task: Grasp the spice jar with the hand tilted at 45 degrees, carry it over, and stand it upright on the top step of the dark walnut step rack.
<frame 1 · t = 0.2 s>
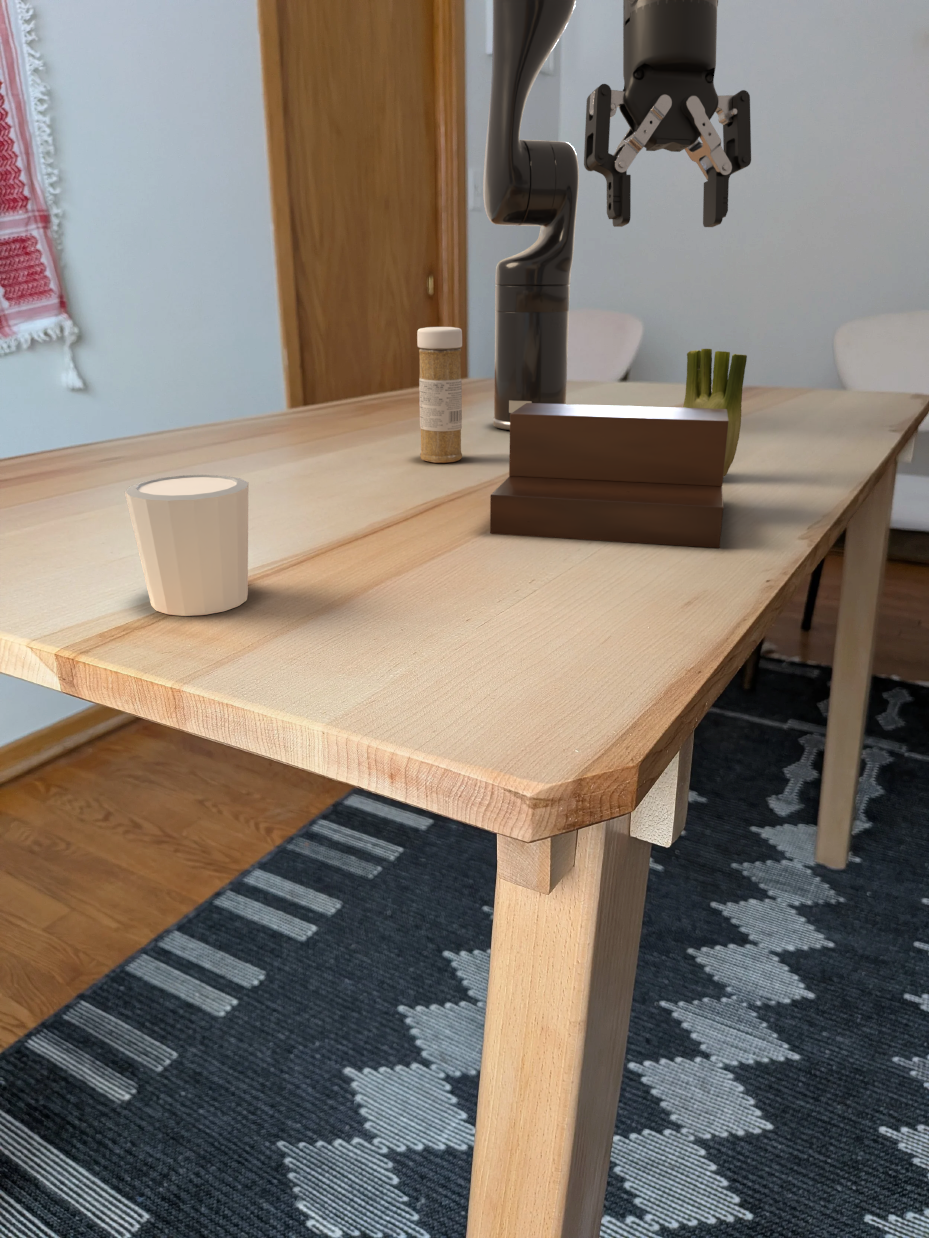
hand: (667, 225, 78), 22 cm above the table, tool pointing down, fingers open, 8 cm apart
spice jar: (441, 461, 97), on the table
step rack: (610, 518, 73), on the table
cream cup: (200, 602, 55), on the table
fennel bulb: (701, 479, 88), on the table
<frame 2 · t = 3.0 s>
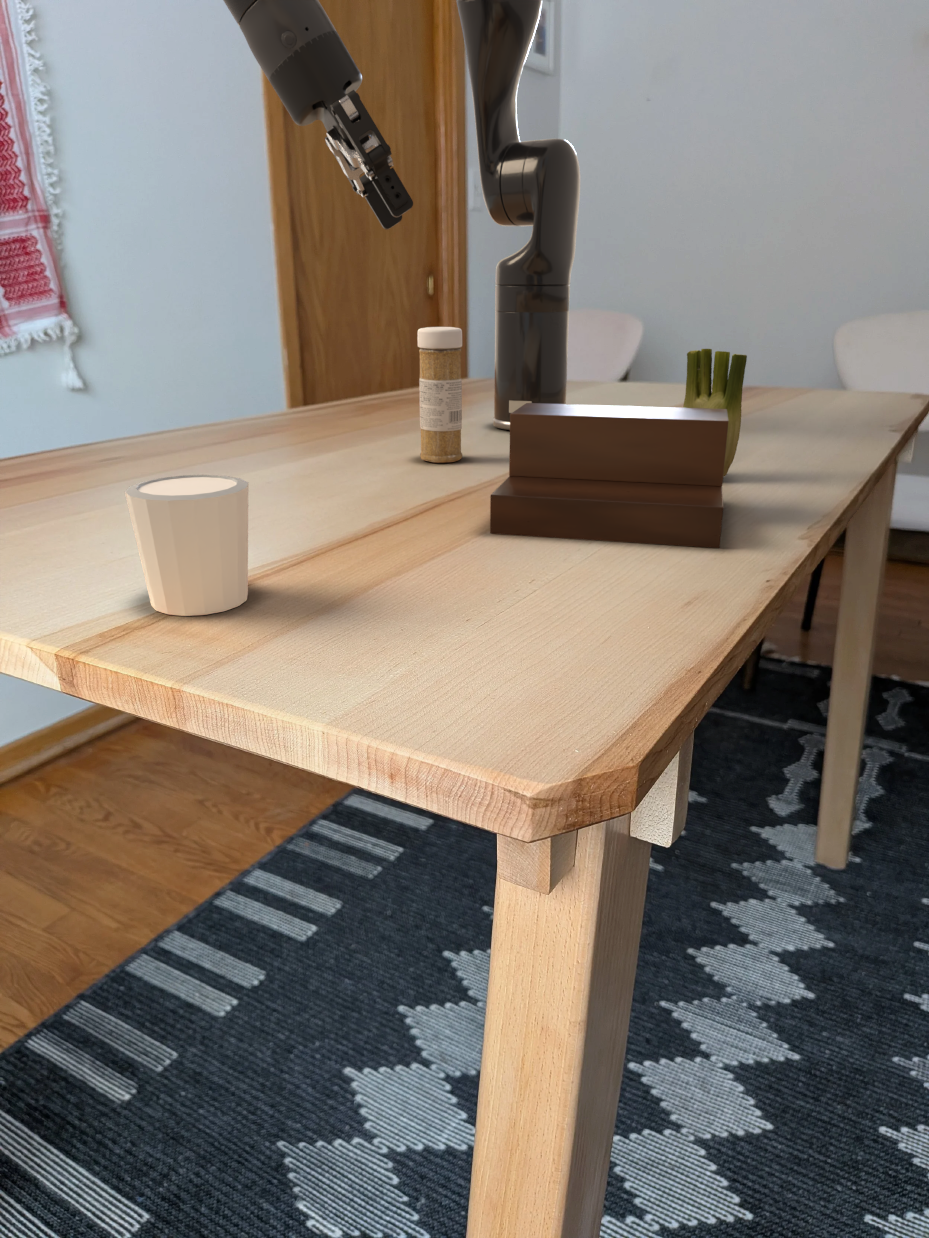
hand: (399, 219, 88), 24 cm above the table, tool tilted 30°, fingers open, 8 cm apart
nothing on the table moved.
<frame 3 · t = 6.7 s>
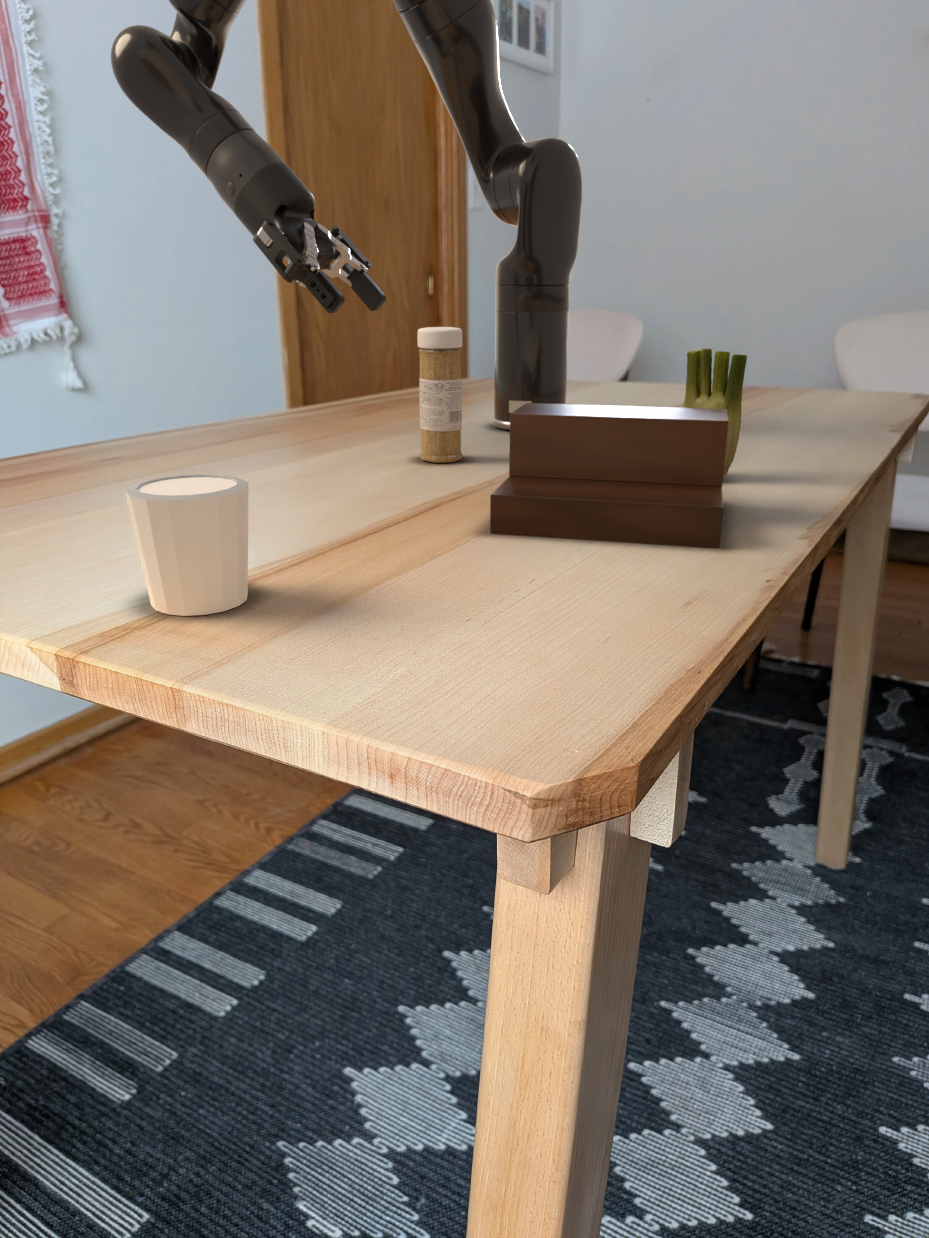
hand: (360, 306, 95), 15 cm above the table, tool tilted 45°, fingers open, 8 cm apart
nothing on the table moved.
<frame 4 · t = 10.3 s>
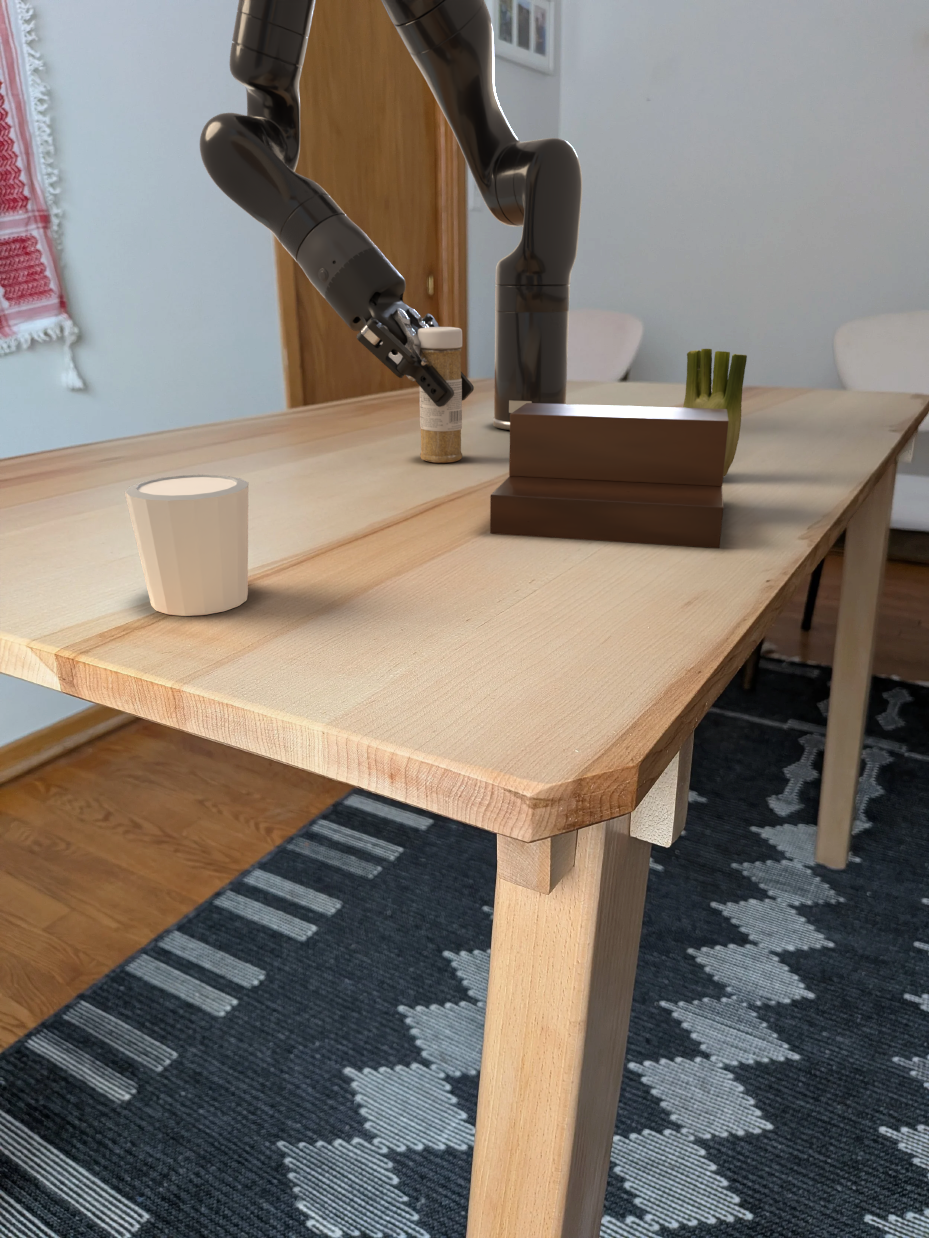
hand: (457, 397, 94), 7 cm above the table, tool tilted 45°, fingers closed on spice jar, 4 cm apart
spice jar: (441, 461, 97), on the table, touching gripper
everything else where it was.
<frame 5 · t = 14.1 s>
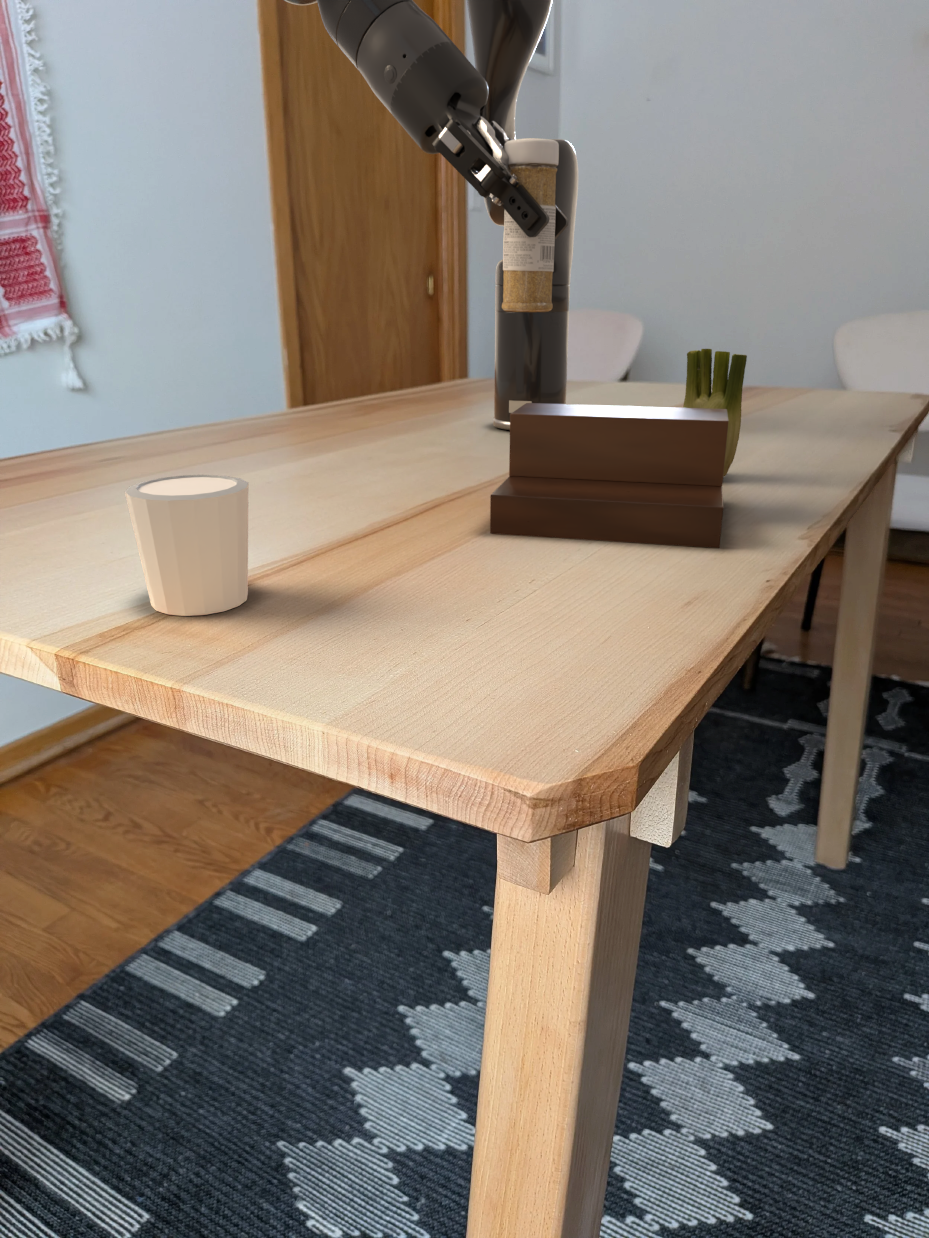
hand: (550, 230, 77), 22 cm above the table, tool tilted 45°, fingers closed on spice jar, 4 cm apart
spice jar: (526, 314, 80), point 15 cm above the table, touching gripper
everything else where it was.
when the fingers open (15 cm above the table, at t = 18.0 s): spice jar stays where it is, resting on step rack.
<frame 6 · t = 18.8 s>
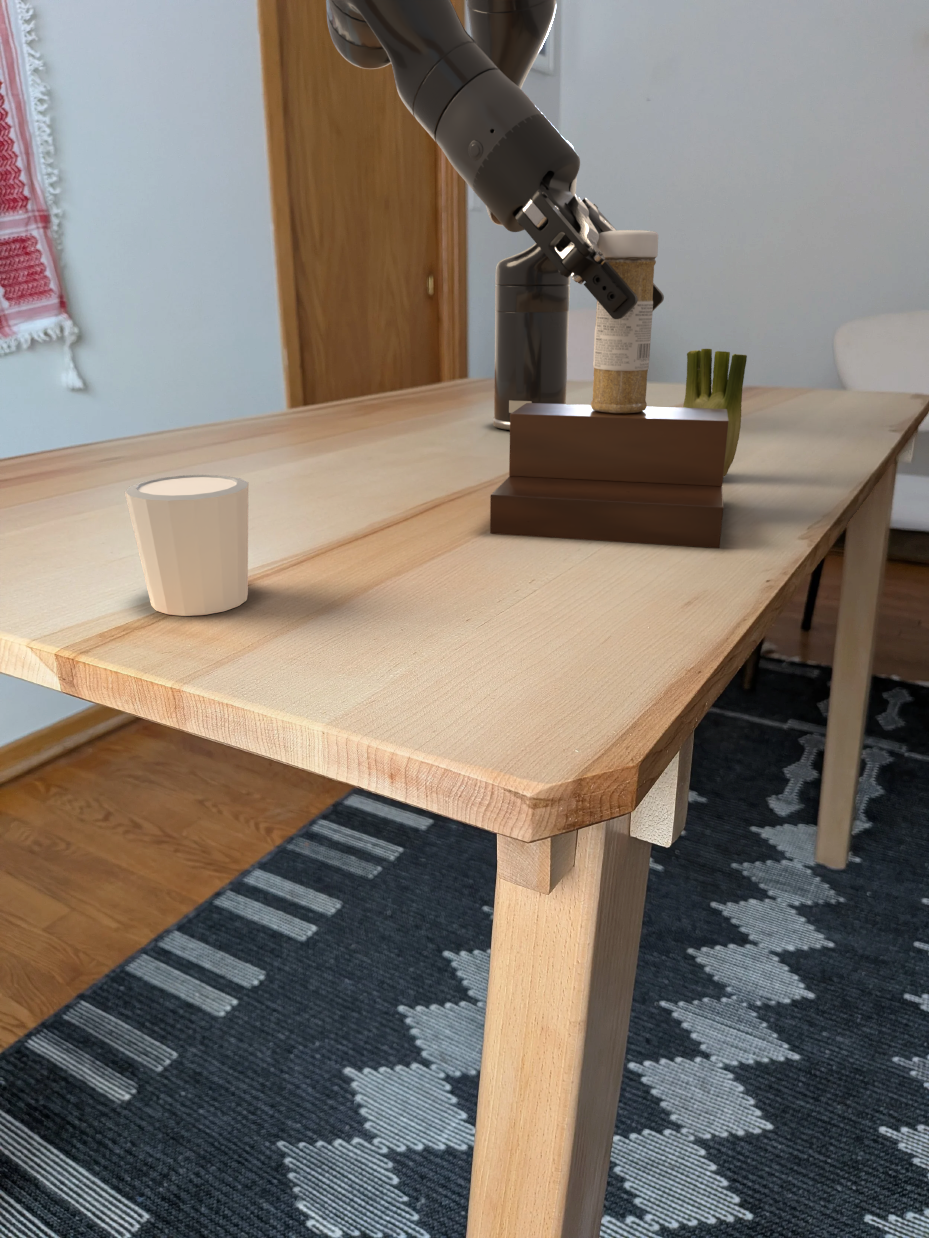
hand: (642, 309, 71), 16 cm above the table, tool tilted 45°, fingers open, 8 cm apart
spice jar: (618, 413, 74), point 8 cm above the table, touching step rack
everything else where it was.
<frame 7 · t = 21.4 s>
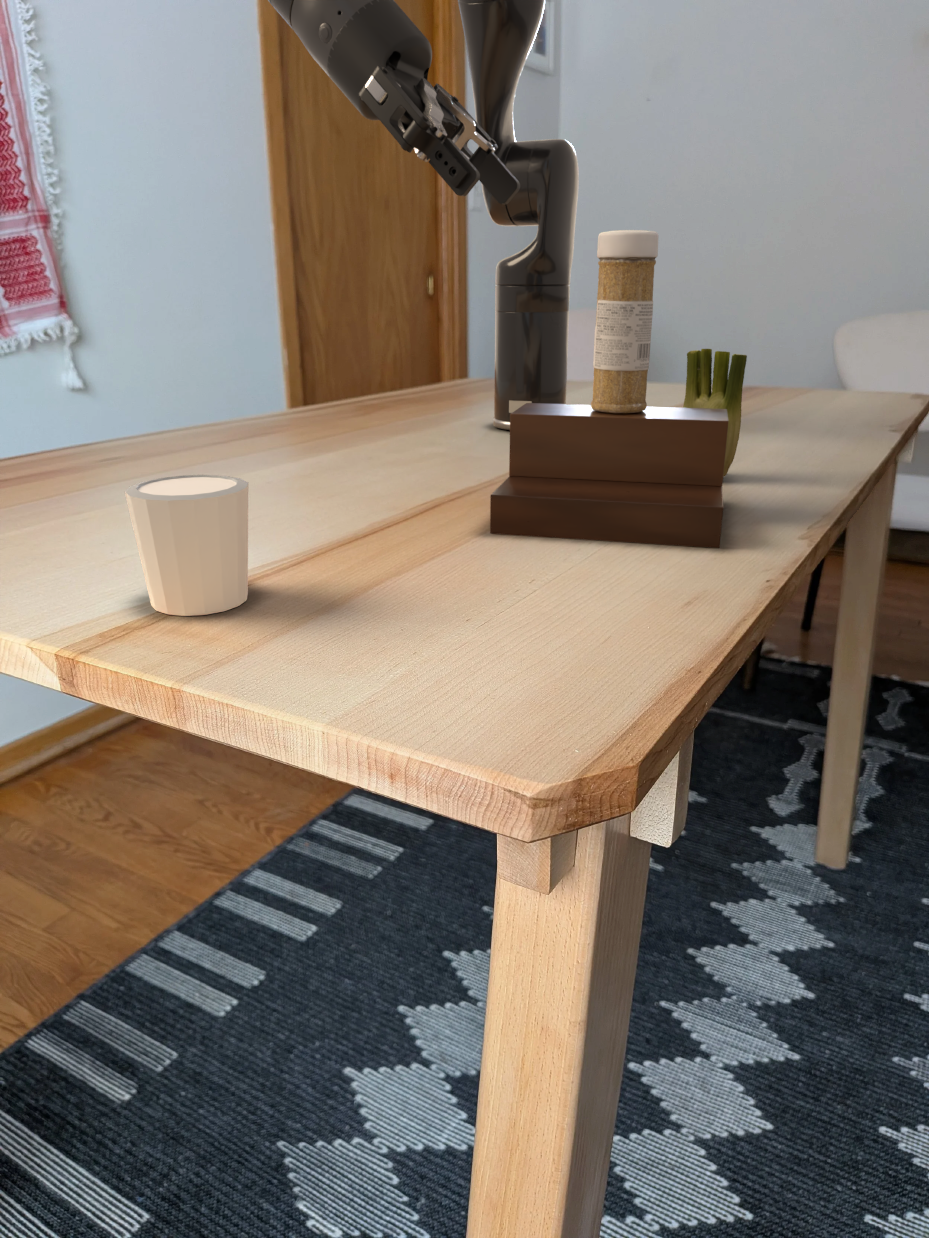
hand: (492, 192, 72), 25 cm above the table, tool tilted 45°, fingers open, 8 cm apart
nothing on the table moved.
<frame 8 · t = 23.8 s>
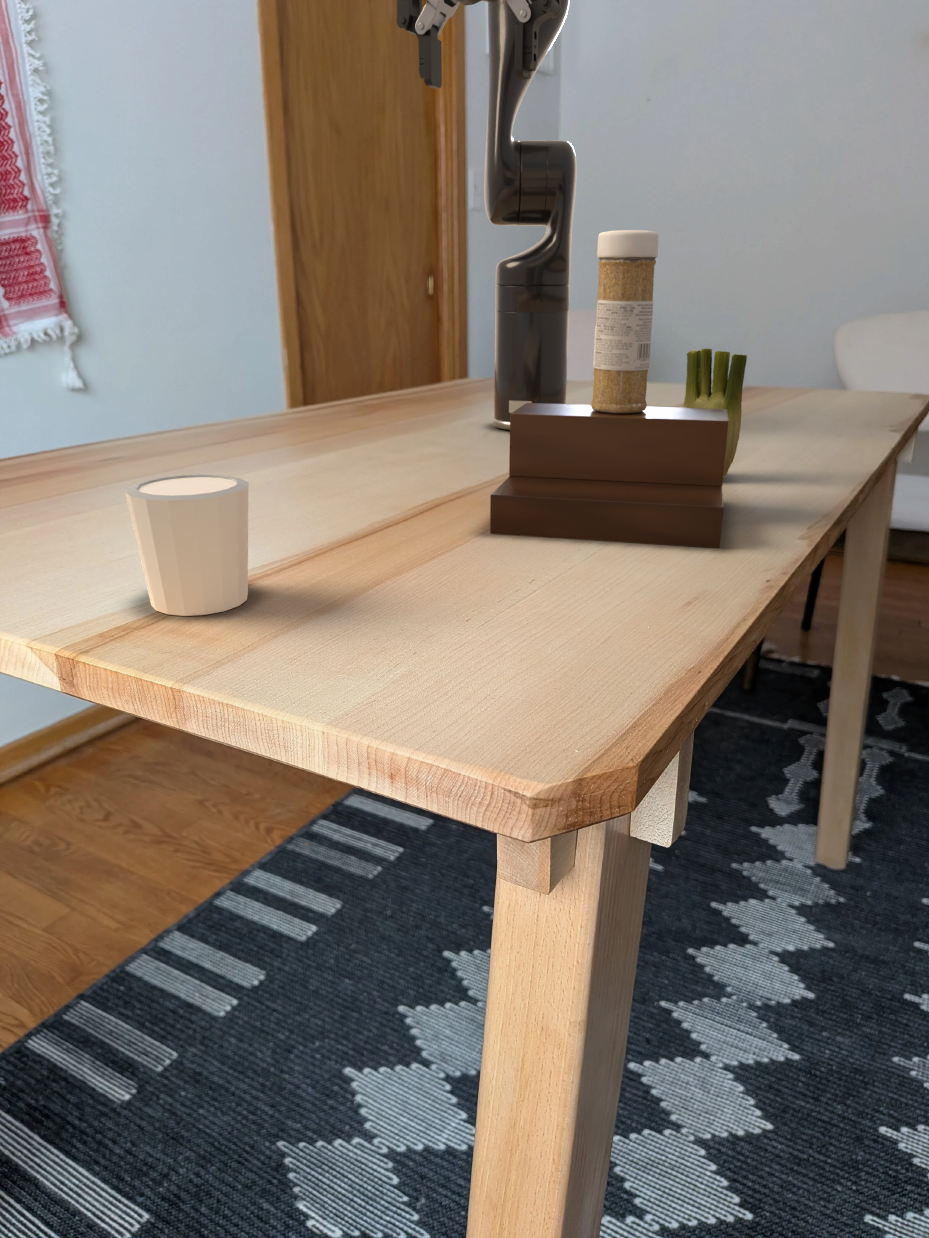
hand: (476, 82, 79), 34 cm above the table, tool pointing down, fingers open, 8 cm apart
nothing on the table moved.
at the end: spice jar inside the target area on the step rack (0.2 cm from its centre), point 7.8 cm above the step rack's base; spice jar tilted 0°; the gripper is holding nothing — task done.
